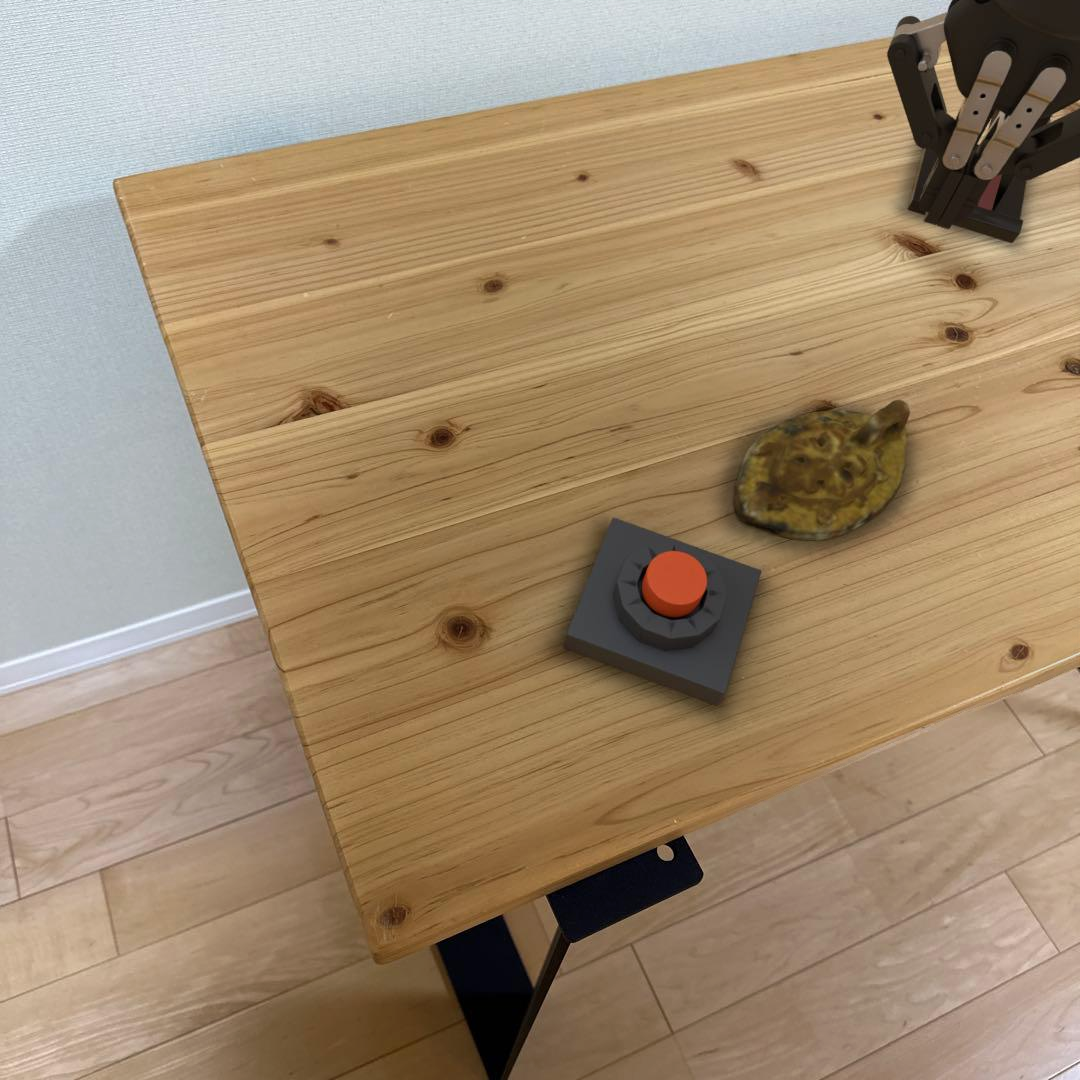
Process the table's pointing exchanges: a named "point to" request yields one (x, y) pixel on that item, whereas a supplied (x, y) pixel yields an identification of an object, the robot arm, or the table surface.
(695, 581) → the button
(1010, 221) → the dark red t-shaped bar
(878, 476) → the olive oval piece
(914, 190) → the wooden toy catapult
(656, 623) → the button box
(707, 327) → the table surface
